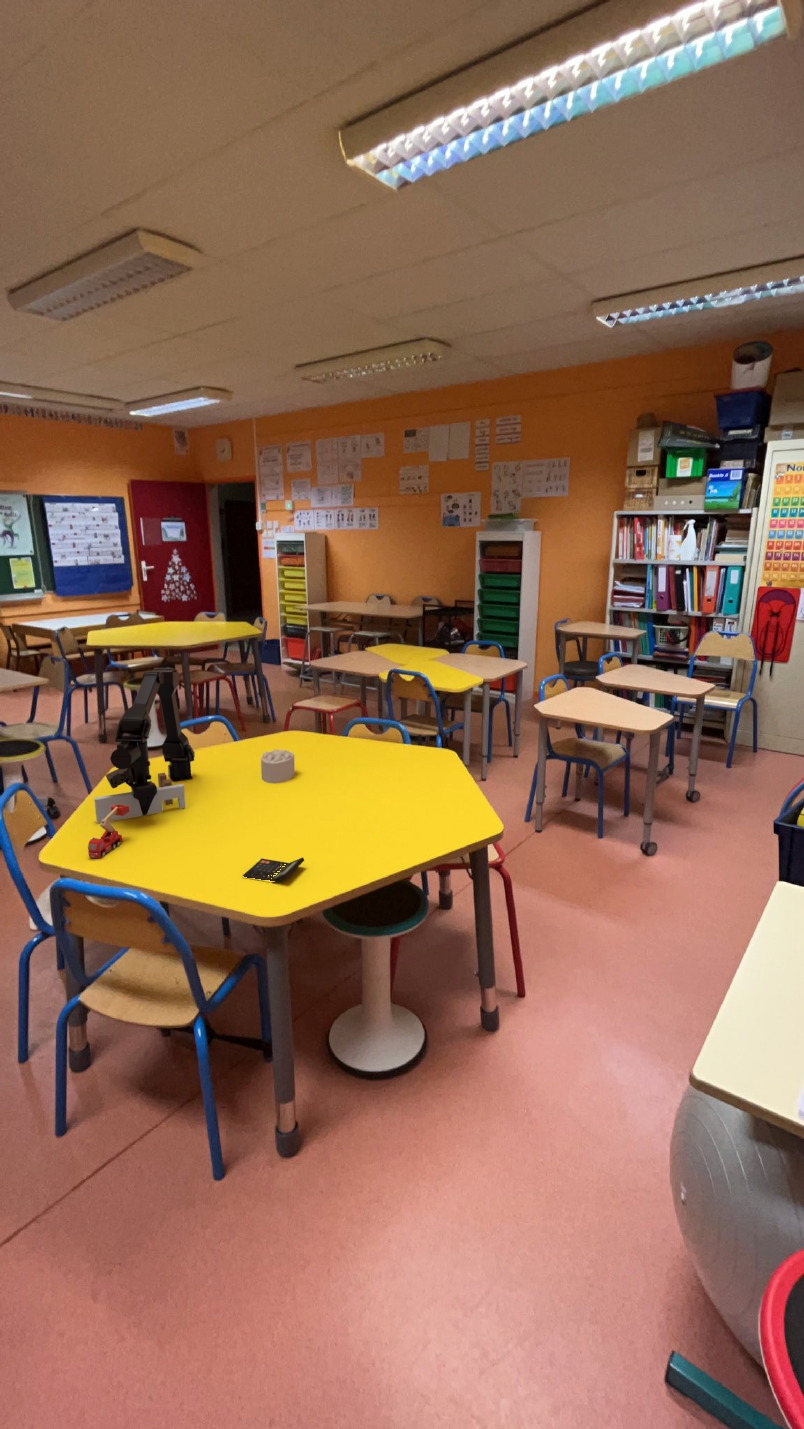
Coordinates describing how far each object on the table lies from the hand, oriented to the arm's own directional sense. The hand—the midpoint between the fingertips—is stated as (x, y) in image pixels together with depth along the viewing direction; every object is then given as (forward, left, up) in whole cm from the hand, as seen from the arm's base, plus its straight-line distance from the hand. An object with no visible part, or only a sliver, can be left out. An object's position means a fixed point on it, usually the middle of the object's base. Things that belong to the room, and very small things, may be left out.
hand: (141, 809), depth 188 cm
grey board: (0, 0, -2) cm, 2 cm away
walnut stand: (-8, -9, -2) cm, 12 cm away
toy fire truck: (+11, +19, -2) cm, 22 cm away
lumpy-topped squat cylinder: (-46, -13, -2) cm, 48 cm away
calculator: (-21, +52, -2) cm, 56 cm away
